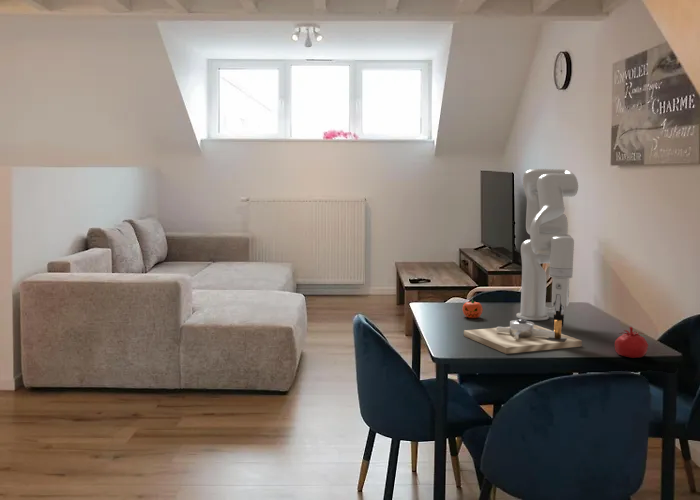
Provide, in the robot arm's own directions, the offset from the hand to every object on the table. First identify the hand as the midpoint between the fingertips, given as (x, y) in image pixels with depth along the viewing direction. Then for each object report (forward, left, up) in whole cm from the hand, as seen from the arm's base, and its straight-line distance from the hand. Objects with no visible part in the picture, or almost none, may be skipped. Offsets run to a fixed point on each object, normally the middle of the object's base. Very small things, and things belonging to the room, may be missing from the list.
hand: (558, 325), depth 242 cm
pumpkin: (+5, -46, -6) cm, 47 cm away
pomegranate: (-12, +22, -6) cm, 25 cm away
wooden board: (+10, -6, -6) cm, 13 cm away
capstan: (+9, -5, -3) cm, 10 cm away
